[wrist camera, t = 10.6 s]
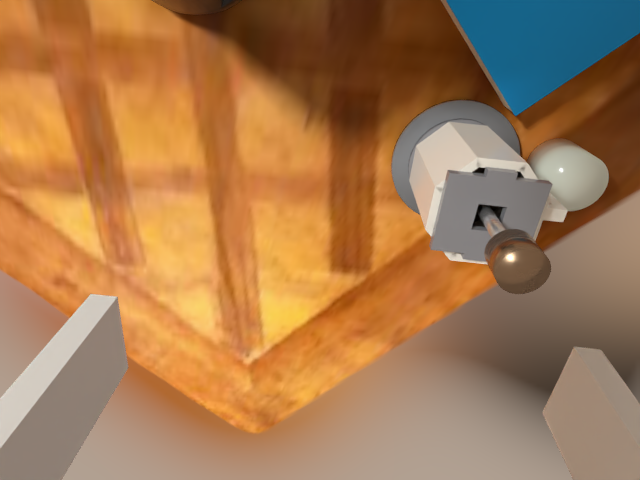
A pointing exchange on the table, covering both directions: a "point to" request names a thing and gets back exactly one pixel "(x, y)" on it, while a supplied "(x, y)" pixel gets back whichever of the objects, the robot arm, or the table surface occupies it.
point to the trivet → (432, 118)
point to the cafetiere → (475, 188)
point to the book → (540, 41)
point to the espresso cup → (569, 172)
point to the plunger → (513, 256)
